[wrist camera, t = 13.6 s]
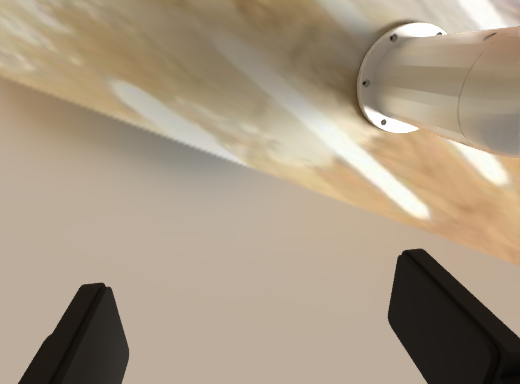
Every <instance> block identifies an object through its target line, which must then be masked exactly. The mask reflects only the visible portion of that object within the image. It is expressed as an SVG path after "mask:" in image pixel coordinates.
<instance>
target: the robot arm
mask: <svg viewBox="0 0 520 384" xmlns="http://www.w3.org/2000/svg"><path fill="white" fill-rule="evenodd" d="M390 36H391V40H390ZM363 82H365V84H364V85H363ZM357 98H358V102H359V106H360V108H361V110H362V112H363V114H364V115H365V117H366V118H367V119H368V121H370V122H371V123H372V124H373V125H374V126H376V127H378V128H380V129H382V130H385V131H388V132H393V133H406V132H410V131H414V130H417V129H421V130H424V131H427V132H430V133H433V134H436V135H438V136H441V137H444V138H447V139H450V140H453V141H456V142H458V143H461V144H464V145H467V146H470V147H473V148H476V149H479V150H482V151H485V152H488V153H491V154H494V155H497V156H501V157H506V158H515V159H520V26H518V27H509V28H500V29H490V30H481V31H471V32H462V33H452V34H447V33H446V32H445V31H444V30H442V29H441V28H439V27H438V26H436V25H433V24H430V23H425V22H414V23H408V24H404V25H400V26H397V27H395V28H393V29H391V30H389V31H388V32H387V33H385V34H384V35H382V36H381V37H380V38H379V39H378V40H377V41H376V42H375V43H374V44H373V45H372V47H371V48H370V50H369V51H368V52H367V54H366V56H365V58H364V60H363V62H362V64H361V67H360V70H359V73H358V78H357ZM381 120H382V122H381ZM380 122H381V123H380ZM388 321H389V324H390V325H391V327H392V329H393V331H394V332H395V334H396V335H397V337H398V338H399V340H400V342H401V343H402V345H403V346H404V348H405V349H406V350H407V352H408V354H409V355H410V357H411V359H412V360H413V362H414V363H415V365H416V366H417V368H418V369H419V371H420V372H421V374H422V376H423V377H424V379H425V380H426V382H427V383H428V384H520V338H519V337H518V336H517V335H516V334H515V333H514V332H512V331H511V330H510V329H509V328H508V327H507V326H506V325H505V324H503V322H502V321H501V320H499V319H498V318H497V317H496V316H495V315H494V314H493V313H492V312H491V311H490V310H489V309H488V308H487V307H485V306H484V305H483V304H482V303H481V302H480V301H479V300H478V299H477V298H476V297H475V296H474V295H472V294H471V293H470V292H469V291H468V290H467V289H466V288H465V287H464V286H463V285H462V284H460V283H459V282H458V281H457V280H456V279H455V278H454V277H453V276H452V275H451V274H450V273H449V272H448V271H447V270H445V269H444V268H443V267H442V266H441V265H440V264H439V263H438V262H437V261H436V260H435V259H434V258H433V257H431V256H430V255H429V254H428V253H427V252H426V251H425V250H423V249H411V250H405V251H403V252H402V255H399V256H398V259H397V264H396V270H395V276H394V282H393V288H392V293H391V299H390V305H389V311H388ZM128 359H129V348H128V344H127V341H126V337H125V334H124V330H123V327H122V323H121V320H120V316H119V313H118V309H117V306H116V302H115V299H114V295H113V292H112V289H111V287H106V286H105V284H104V283H93V284H84V285H82V286H81V287H80V288H79V290H78V291H77V293H76V295H75V296H74V298H73V300H72V302H71V303H70V305H69V306H68V308H67V310H66V312H65V313H64V315H63V316H62V318H61V320H60V321H59V323H58V325H57V327H56V328H55V330H54V331H53V333H52V334H51V335H49V336H48V337H47V338H46V340H45V341H44V342H43V344H42V345H41V347H40V349H39V350H38V352H37V354H36V355H35V357H34V358H33V360H32V362H31V363H30V365H29V367H28V368H27V370H26V372H25V373H24V375H23V376H22V378H21V380H20V381H19V383H18V384H121V383H122V380H123V377H124V374H125V370H126V367H127V363H128Z"/></svg>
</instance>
